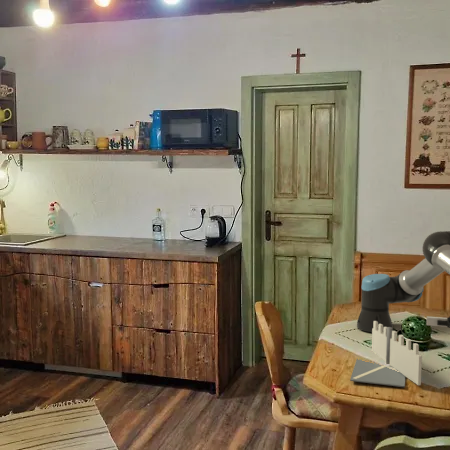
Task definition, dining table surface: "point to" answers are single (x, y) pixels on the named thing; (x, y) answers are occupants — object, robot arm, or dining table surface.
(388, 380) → the card
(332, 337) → the dining table surface
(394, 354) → the panel
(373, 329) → the fixed fence section
